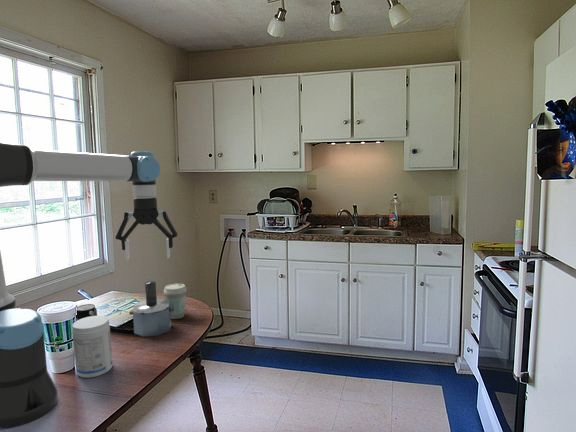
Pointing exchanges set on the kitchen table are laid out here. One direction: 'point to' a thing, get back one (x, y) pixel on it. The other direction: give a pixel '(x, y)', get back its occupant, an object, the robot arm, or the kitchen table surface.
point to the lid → (151, 301)
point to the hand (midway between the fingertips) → (148, 258)
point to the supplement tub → (92, 346)
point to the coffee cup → (176, 299)
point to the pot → (152, 322)
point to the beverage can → (86, 311)
